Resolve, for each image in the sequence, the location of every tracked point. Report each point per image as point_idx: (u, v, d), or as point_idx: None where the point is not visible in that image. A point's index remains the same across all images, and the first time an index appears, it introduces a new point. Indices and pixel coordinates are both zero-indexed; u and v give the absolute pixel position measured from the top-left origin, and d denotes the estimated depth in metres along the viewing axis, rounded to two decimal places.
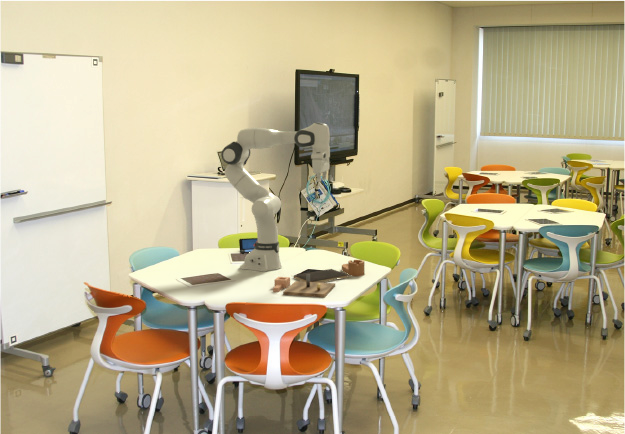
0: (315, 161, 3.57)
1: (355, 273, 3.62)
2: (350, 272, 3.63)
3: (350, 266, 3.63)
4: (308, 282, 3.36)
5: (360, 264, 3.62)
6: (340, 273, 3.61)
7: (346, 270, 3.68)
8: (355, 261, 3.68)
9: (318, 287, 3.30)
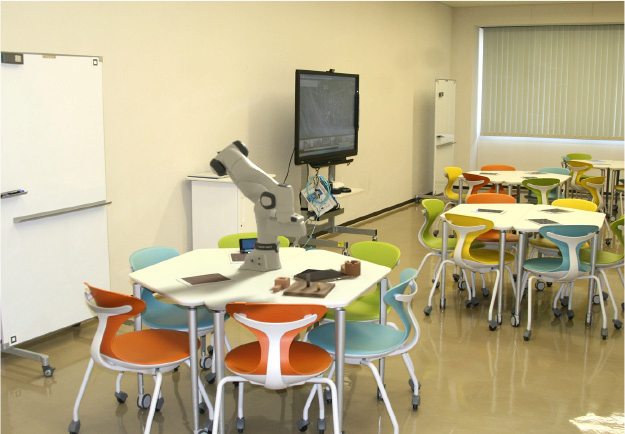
0: (302, 224, 3.38)
1: (350, 273, 3.61)
2: (345, 272, 3.63)
3: (345, 266, 3.63)
4: (308, 282, 3.36)
5: (355, 264, 3.61)
6: (340, 273, 3.61)
7: (343, 270, 3.68)
8: (352, 261, 3.67)
9: (318, 287, 3.30)
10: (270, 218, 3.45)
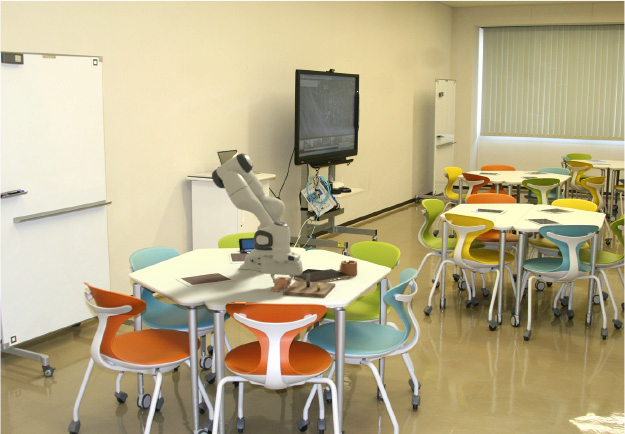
0: (299, 263, 3.39)
1: (345, 273, 3.61)
2: None
3: (341, 266, 3.63)
4: (308, 282, 3.36)
5: (350, 265, 3.60)
6: (340, 273, 3.61)
7: (340, 270, 3.68)
8: (349, 261, 3.67)
9: (318, 287, 3.30)
10: (265, 256, 3.43)
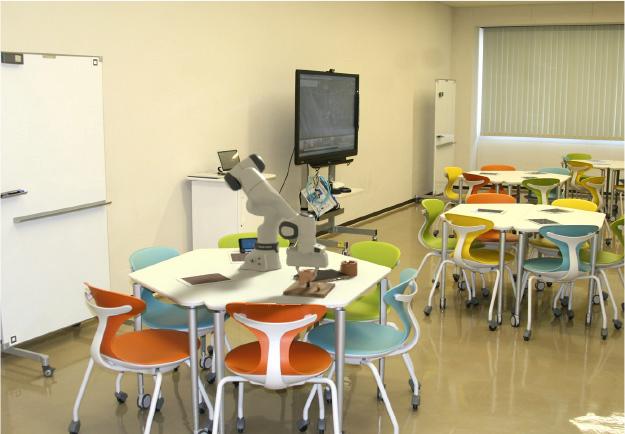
0: (325, 255, 3.31)
1: (345, 273, 3.61)
2: (342, 272, 3.63)
3: (342, 266, 3.63)
4: (308, 282, 3.36)
5: (351, 265, 3.60)
6: (340, 273, 3.61)
7: None
8: (350, 262, 3.67)
9: (318, 287, 3.30)
10: (290, 248, 3.36)
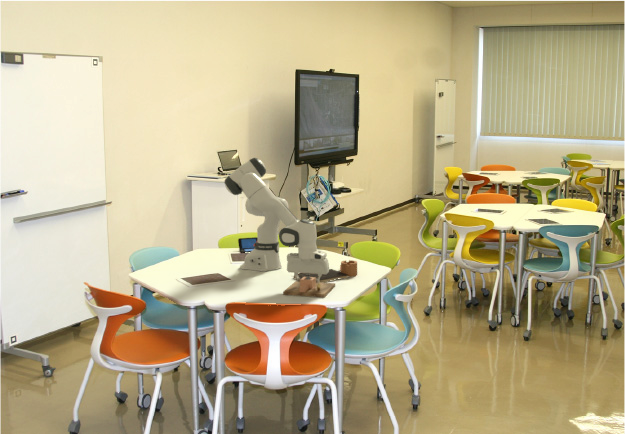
0: (326, 261, 3.32)
1: (345, 273, 3.61)
2: None
3: (341, 266, 3.63)
4: None
5: (350, 265, 3.60)
6: (340, 273, 3.61)
7: None
8: (349, 262, 3.67)
9: (318, 287, 3.30)
10: (291, 254, 3.36)
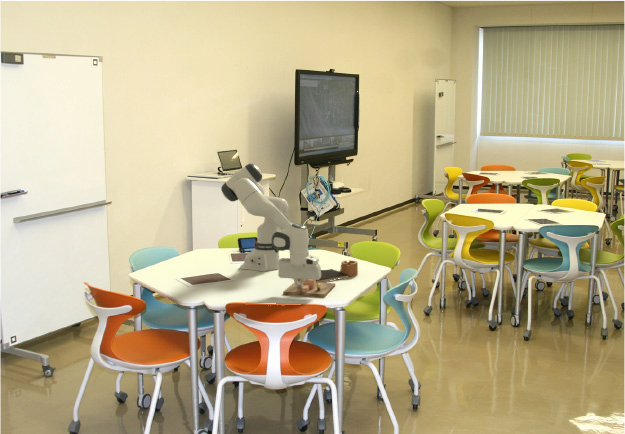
0: (318, 266, 3.26)
1: None
2: (342, 272, 3.63)
3: (342, 266, 3.63)
4: None
5: (351, 265, 3.60)
6: (340, 273, 3.61)
7: None
8: (350, 262, 3.67)
9: (318, 287, 3.30)
10: (282, 260, 3.30)
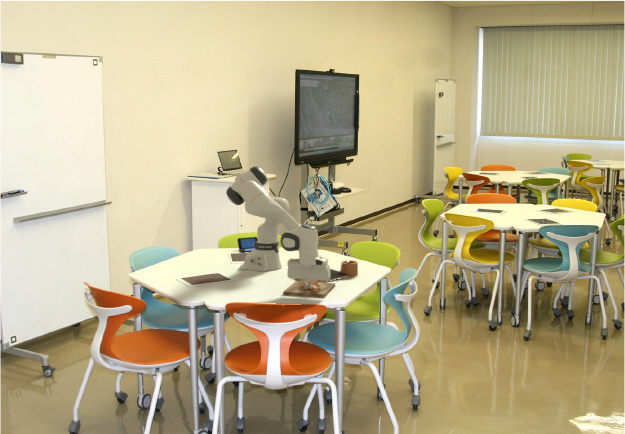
0: (327, 267, 3.24)
1: None
2: (342, 272, 3.63)
3: (342, 266, 3.62)
4: None
5: (351, 265, 3.60)
6: (340, 273, 3.61)
7: None
8: (350, 262, 3.67)
9: None
10: (291, 260, 3.29)
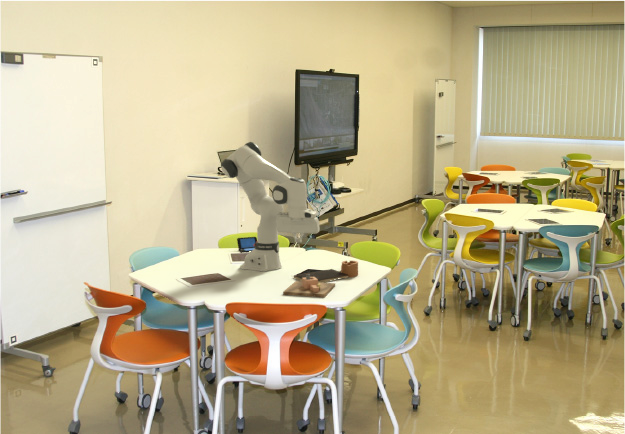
0: (316, 220, 3.25)
1: None
2: (342, 272, 3.63)
3: (342, 266, 3.62)
4: None
5: (351, 265, 3.60)
6: (340, 273, 3.61)
7: (341, 270, 3.68)
8: (350, 262, 3.66)
9: None
10: (280, 214, 3.29)
